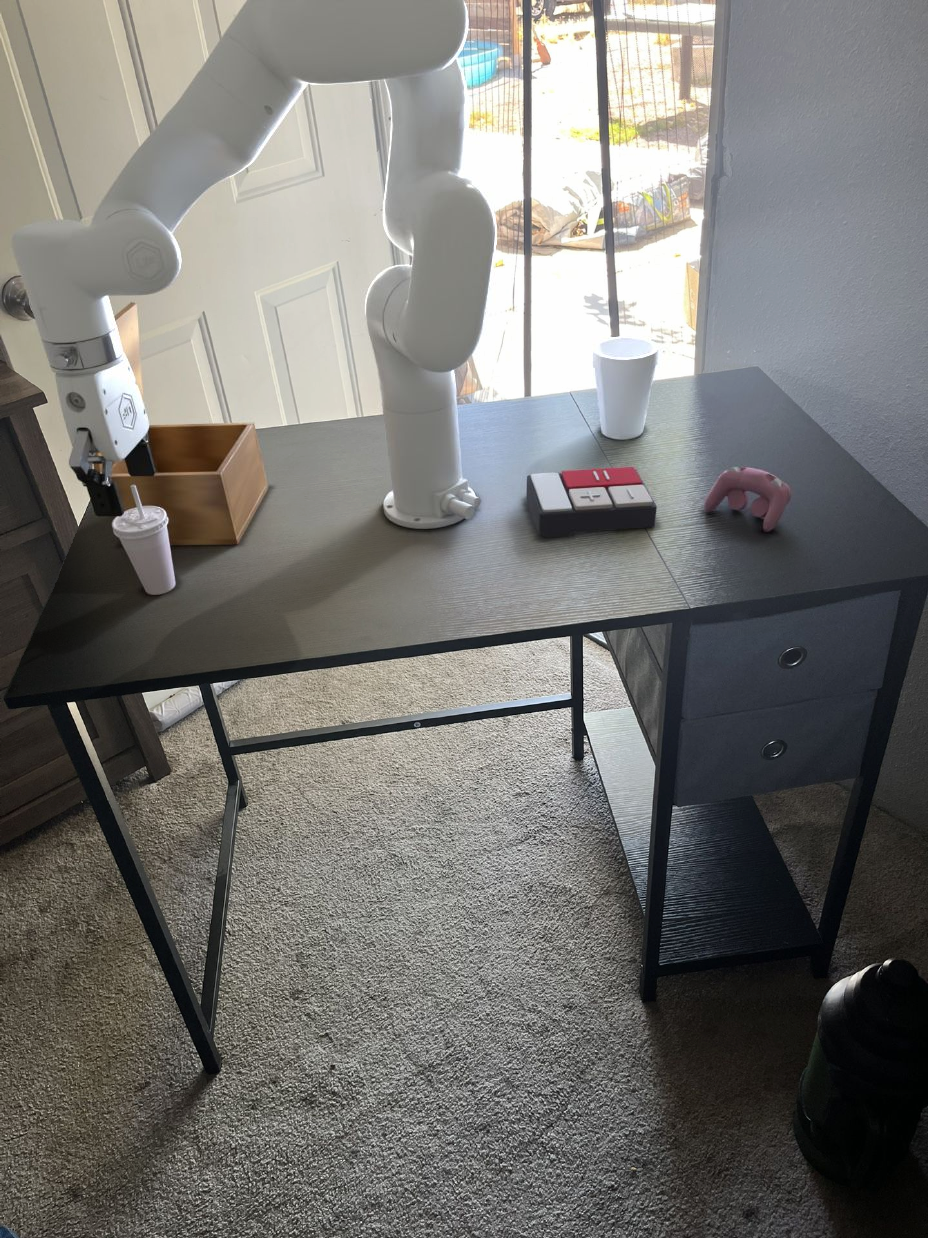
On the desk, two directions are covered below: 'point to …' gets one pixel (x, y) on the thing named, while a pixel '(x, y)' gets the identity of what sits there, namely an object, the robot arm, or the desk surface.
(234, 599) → the desk surface
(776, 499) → the video game controller
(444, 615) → the desk surface
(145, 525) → the smoothie
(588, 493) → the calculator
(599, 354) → the foam cup
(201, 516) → the box
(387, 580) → the desk surface
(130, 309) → the box lid
